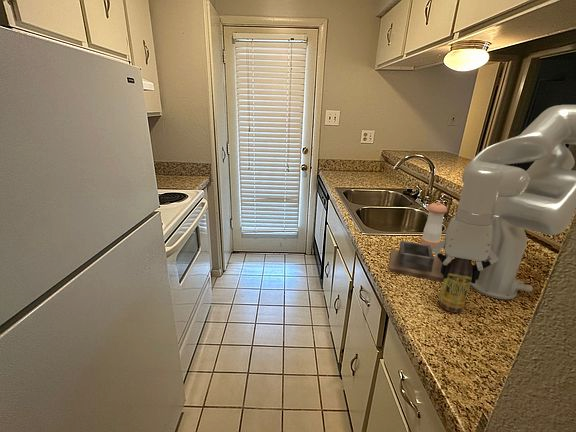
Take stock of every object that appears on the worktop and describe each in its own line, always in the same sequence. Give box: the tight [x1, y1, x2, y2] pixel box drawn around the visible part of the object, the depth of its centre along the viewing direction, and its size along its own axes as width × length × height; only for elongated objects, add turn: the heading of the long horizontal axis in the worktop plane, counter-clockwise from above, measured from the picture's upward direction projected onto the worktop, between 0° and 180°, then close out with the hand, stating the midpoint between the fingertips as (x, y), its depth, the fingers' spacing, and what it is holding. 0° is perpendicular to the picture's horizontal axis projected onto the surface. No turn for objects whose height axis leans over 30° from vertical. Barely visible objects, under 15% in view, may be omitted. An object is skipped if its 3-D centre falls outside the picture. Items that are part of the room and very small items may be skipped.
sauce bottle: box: [438, 257, 474, 313], centre depth 79 cm, size 6×6×20 cm
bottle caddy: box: [388, 240, 453, 283], centre depth 103 cm, size 22×16×6 cm
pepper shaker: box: [419, 201, 448, 248], centre depth 117 cm, size 7×7×19 cm
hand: (458, 277), depth 79 cm, fingers closed on sauce bottle, 6 cm apart
